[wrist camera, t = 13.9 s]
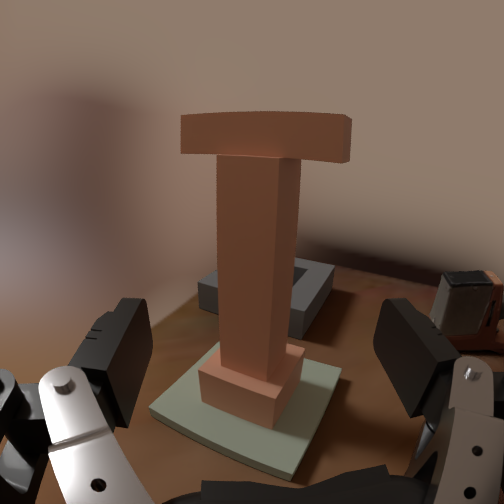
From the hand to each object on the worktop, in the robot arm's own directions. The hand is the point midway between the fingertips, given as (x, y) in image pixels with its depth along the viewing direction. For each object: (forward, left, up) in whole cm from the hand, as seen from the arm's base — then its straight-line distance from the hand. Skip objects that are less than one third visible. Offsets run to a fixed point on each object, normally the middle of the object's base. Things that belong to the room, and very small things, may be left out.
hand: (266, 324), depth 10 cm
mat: (+3, -6, -11) cm, 13 cm away
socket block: (+8, -20, -11) cm, 24 cm away
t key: (+3, -6, -10) cm, 12 cm away
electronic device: (-14, -20, -11) cm, 27 cm away
